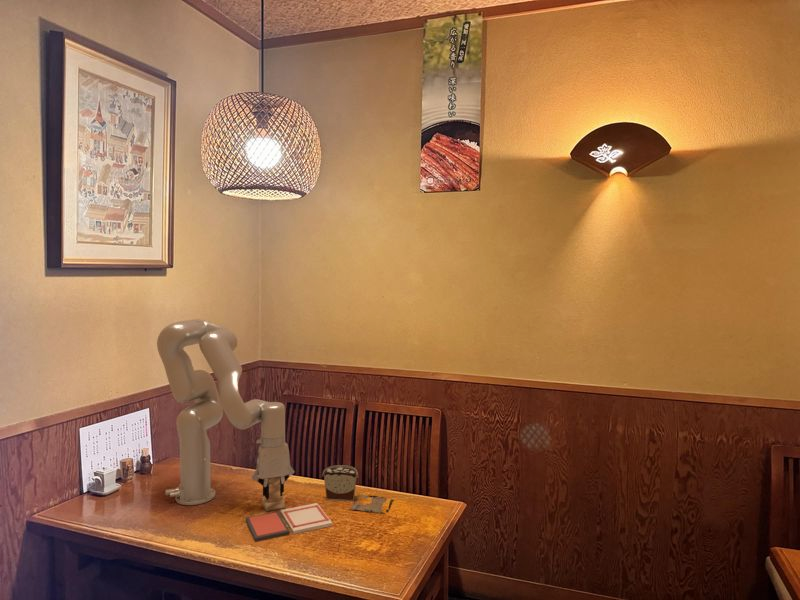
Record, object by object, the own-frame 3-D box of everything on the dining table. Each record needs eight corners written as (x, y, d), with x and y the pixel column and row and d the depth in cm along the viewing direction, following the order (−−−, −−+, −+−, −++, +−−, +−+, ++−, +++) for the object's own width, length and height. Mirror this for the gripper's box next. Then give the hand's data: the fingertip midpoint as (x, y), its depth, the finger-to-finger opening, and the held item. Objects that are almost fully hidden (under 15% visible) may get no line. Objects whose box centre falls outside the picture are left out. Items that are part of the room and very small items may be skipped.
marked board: (293, 534, 158) (293, 530, 158) (280, 513, 171) (280, 509, 171) (332, 525, 163) (332, 522, 163) (316, 506, 177) (316, 502, 177)
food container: (361, 493, 187) (361, 465, 186) (357, 501, 181) (358, 472, 180) (326, 491, 188) (326, 463, 187) (322, 499, 182) (322, 470, 181)
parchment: (387, 515, 171) (387, 512, 171) (348, 511, 174) (348, 508, 174) (395, 499, 183) (395, 496, 183) (358, 495, 186) (358, 492, 186)
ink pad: (255, 541, 153) (255, 537, 153) (245, 520, 166) (245, 517, 166) (289, 534, 158) (289, 530, 158) (278, 514, 170) (277, 510, 170)
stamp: (266, 512, 172) (266, 478, 171) (262, 505, 177) (262, 471, 176) (284, 508, 174) (284, 475, 174) (280, 501, 180) (280, 468, 179)
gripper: (249, 448, 167) (249, 505, 168) (301, 440, 175) (301, 495, 176) (244, 441, 174) (245, 496, 175) (295, 434, 182) (295, 487, 183)
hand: (273, 495), depth 176 cm, fingers open, 3 cm apart
